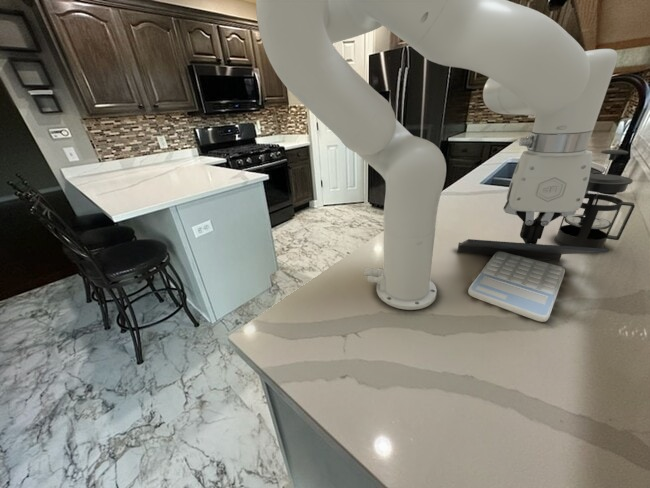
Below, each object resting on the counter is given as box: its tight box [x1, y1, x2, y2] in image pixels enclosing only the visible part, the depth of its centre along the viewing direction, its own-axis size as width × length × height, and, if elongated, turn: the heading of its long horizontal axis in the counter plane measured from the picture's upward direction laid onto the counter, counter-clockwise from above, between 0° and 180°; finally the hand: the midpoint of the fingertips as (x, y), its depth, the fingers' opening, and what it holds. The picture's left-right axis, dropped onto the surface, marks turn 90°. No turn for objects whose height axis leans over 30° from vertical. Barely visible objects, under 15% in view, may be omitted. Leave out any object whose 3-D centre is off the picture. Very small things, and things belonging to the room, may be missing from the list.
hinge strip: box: [457, 242, 563, 262], centre depth 65 cm, size 22×1×2 cm, turn 68°
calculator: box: [467, 252, 566, 323], centre depth 55 cm, size 13×20×2 cm, turn 135°
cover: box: [458, 238, 610, 255], centre depth 56 cm, size 22×16×1 cm
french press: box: [554, 149, 636, 249], centre depth 61 cm, size 12×9×23 cm
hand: (528, 241), depth 51 cm, fingers closed
